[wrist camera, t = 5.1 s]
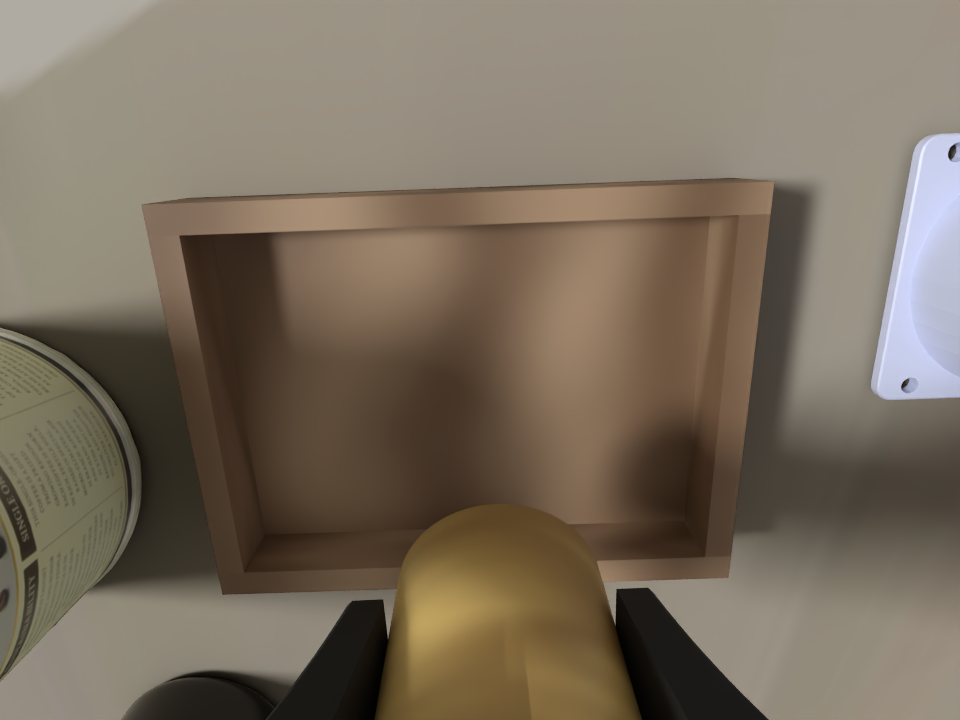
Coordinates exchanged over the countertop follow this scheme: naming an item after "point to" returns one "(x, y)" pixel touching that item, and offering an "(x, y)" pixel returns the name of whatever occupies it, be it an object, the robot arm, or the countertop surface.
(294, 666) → the countertop surface
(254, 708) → the supplement bottle
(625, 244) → the tray
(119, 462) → the coffee can
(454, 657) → the tan wooden cylinder
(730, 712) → the robot arm
